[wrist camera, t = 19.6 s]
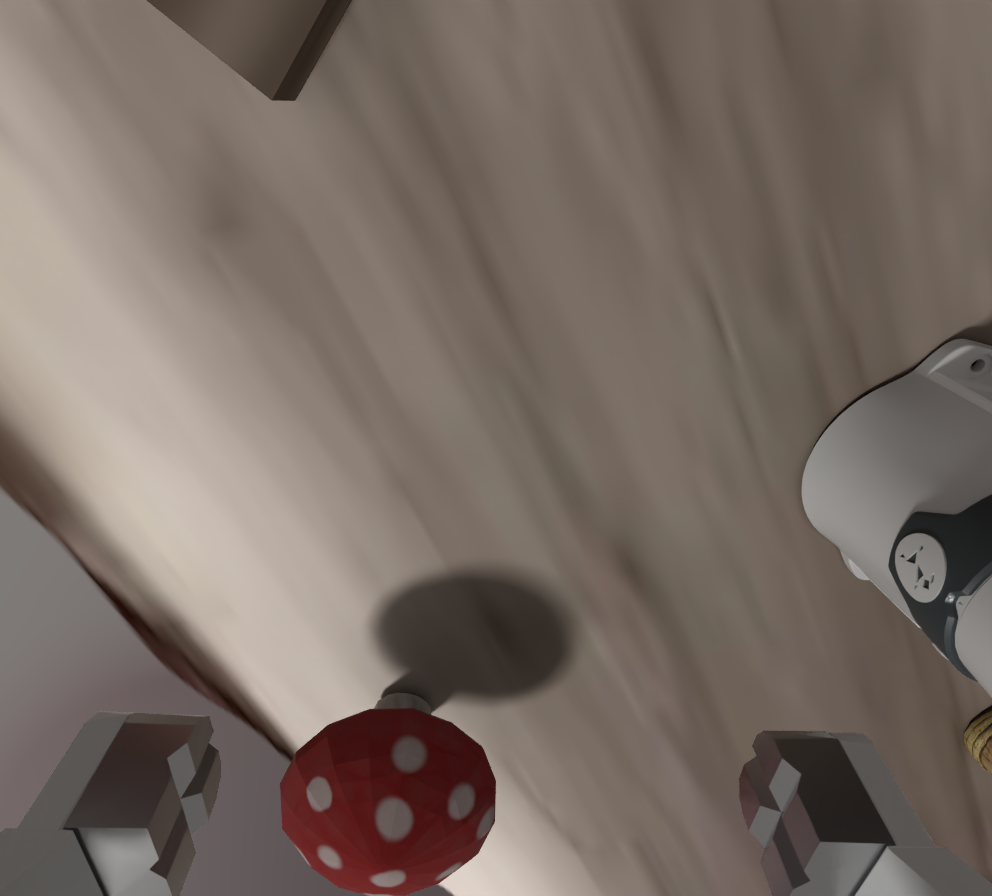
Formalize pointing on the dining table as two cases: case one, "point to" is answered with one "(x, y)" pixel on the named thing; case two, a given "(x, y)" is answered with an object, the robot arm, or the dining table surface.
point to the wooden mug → (980, 739)
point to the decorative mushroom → (389, 799)
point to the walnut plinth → (261, 36)
